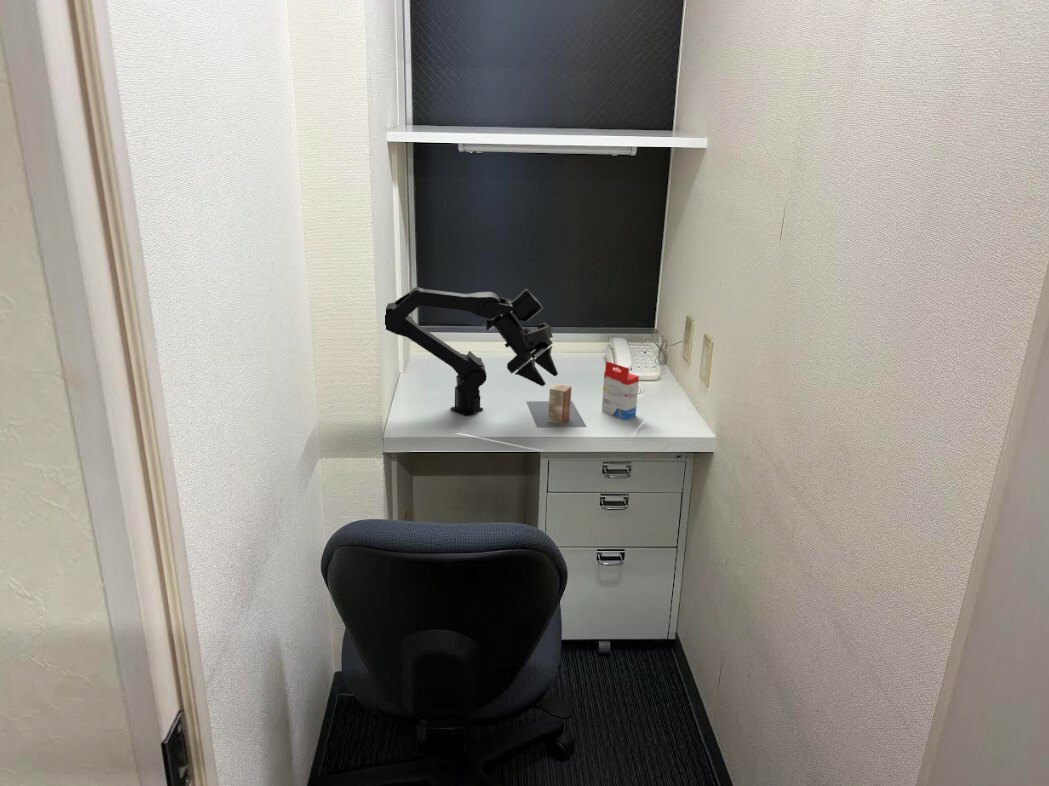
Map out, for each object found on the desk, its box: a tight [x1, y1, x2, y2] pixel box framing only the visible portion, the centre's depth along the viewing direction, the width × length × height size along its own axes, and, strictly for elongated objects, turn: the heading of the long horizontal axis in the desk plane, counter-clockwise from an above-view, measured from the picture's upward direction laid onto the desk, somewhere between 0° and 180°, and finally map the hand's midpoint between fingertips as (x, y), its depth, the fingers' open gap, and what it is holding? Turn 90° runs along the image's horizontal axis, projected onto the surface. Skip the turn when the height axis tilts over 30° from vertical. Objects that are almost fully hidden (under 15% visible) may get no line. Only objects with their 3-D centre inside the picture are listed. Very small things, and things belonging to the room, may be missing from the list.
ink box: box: [601, 361, 640, 421], centre depth 212 cm, size 8×5×15 cm, turn 43°
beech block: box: [548, 383, 572, 424], centre depth 206 cm, size 4×4×9 cm
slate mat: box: [526, 400, 587, 429], centre depth 212 cm, size 19×13×1 cm
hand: (550, 380), depth 205 cm, fingers open, 9 cm apart
